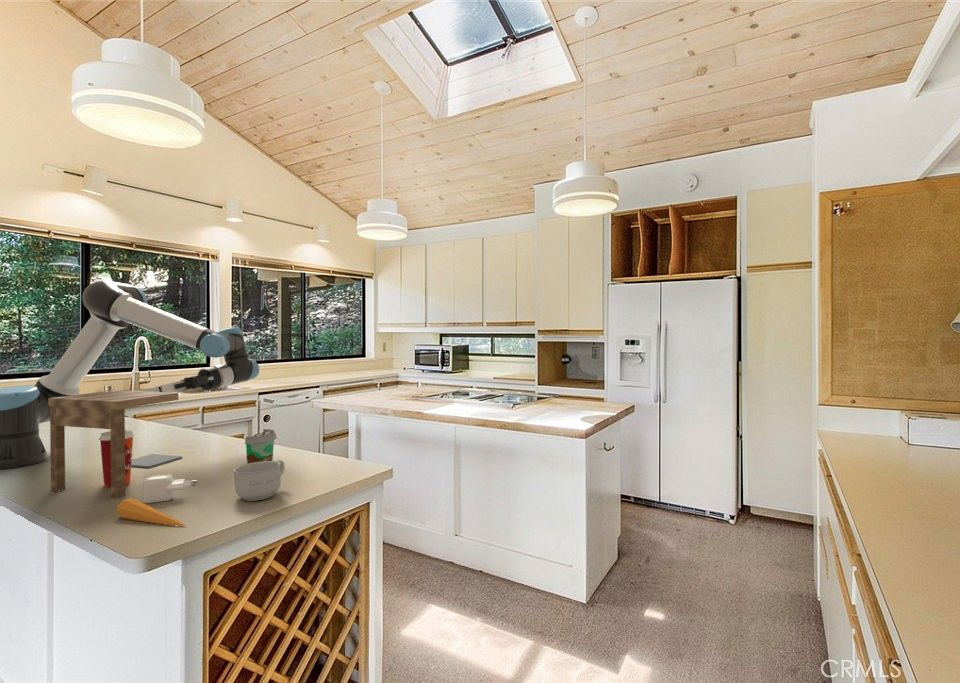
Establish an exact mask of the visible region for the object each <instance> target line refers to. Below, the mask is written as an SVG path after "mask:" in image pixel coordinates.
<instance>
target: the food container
mask: <svg viewBox="0 0 960 683" xmlns="http://www.w3.org/2000/svg"><path fill="white" fill-rule="evenodd" d="M276 439H277V433H276V432H275V430H273V429H269V428H268V429H267V428H263V430H262V432H260V433H257V434H254V435H253V436H245V439H244V445H245V448H246V451H245V452H246V464H249V463H254V462H261V461H274V460H273V459H274V458H273V456H274V446H275V440H276Z"/></svg>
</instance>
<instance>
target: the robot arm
mask: <svg viewBox="0 0 960 683" xmlns="http://www.w3.org/2000/svg"><path fill="white" fill-rule="evenodd" d="M82 302H83V305H84V307H85V308H86V309H87V310H88V312H89V314H90V317H89V319H88V321H87V322H86V323H85V324H84V326H83V328H81V330H80V331H79V333H78V334H77V336H76V337H75V338H74V340H73V341H72V343H71V344H70V345H69V346H68V348H67V349H66V351H65V352H64V353H63V355H62V356H61V358H59V360H58V362H56V364H55V366H54V367H53V369H52V370H51V372H50V373H49V374H47V375H43V376H41V377H39V378H38V380H37V382H36V383H35V384H34V385H16V386H11V387H2V388H0V470H4V469H12V468H13V469H14V468H21V467H26V466H31V465H35V464H39V463H41V462H44V461H46V460H47V456H48V455H47V454H48V452H47V450H46V448H45V446H44V444H43V441H42V439H41V437H40V424H43V423H48V422H50V406H49V404H48V398H54V397H63V396H71V395H80V393H81V391H80V387H79V385H80V384H81V383H82V381H83V380H84V379H85V377H86V376H87V374H88V373H89V372H90V370H92V369H91V368H92V367H93V366H94V364H95V363H96V362H97V361H98V359H99V357H100V356H101V355H102V353H103V352H104V350H105V349H106V348H107V346H108V345H109V344H110V342H111V341H112V339H113V338H114V336H115V335H116V334H117V332H118V331H119V330H122V329H126V328H127V327H129V325H130V324H131V325H133V326H136V327H139V328H141V329H144V330H146V331H149V332H151V333H153V334H156V335H158V336H162V337H164V338H167V339H170V340H172V341H175V342H177V343H179V344H183V345H185V346H188V347H191V348H192V349H194V350H198V351H200V352H202V354H204V355H205V356H206V357H208V358H215V359H217V358H222V357H223V359H224V362H225V363H223V364H218V365H215V366H214V365H213V366H210V367H205V368H204V367H203V368H201V369H200V370H199V371H198V373H197V375H193V376H188V377H184V379H181V380H179V381H175V382H174V381H173V382H171V383H170V382H169V383H166V384H162V385H160V386H159V385H158V386H155V387H151V388H150V387H149V388H146V389H142V390H140V391H149V392H173V393H176V392H178V391H186V390H191V389H192V390H194V389H197V388H201V389H202V390H204V391H206V392H208V391H212V390H216V389H218V388H224V389H227V388H228V386H232V385H235V384H239V383H244V382H247V381H251V380H254V379H256V378H257V377H258V376H259V374H260V366H259V364H258V363H257V361H256V359H253V358H250V357H249V355H248V351H247V347H246V342H245V339H244V334H243V332H242V330H241V328H240V327H239V326H235V327H229V328H223V329H221V330H219V331H218V332H217V331H214V330H212V329H209V328H208V327H204V326H202V325H200V324H196V323H195V322H192V321H189V320H187V319H185V318H182V317H179V316H178V315H175V314H172V313H170V312H167V311H164V310H162V309H161V308H158V307H154V306H152V305H149V304H148V298H147V295H146V294H145V293H144V291H143V290H142V289H141V288H139V287H137V286H136V285H132V284H130V283H127V282H126V283H125V282H124V283H122V282H117V281H116V282H115V281H111V280H98V281H95V282H92V283H90V284H88V285H87V287H86V288H85V289H84V290H83V293H82Z"/></svg>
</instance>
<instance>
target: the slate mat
mask: <svg viewBox="0 0 960 683" xmlns="http://www.w3.org/2000/svg"><path fill="white" fill-rule="evenodd" d="M181 459H183V456H181V455H169V454H156V453H151V454H148V455H144V456H140V457H136V458H132V462H131V468H132V467H133V468H140V467H141V468H143V469H151V468H154V467H158V466H160V465H161V466H162V465H164V464H168V463H171V462H174V461H177V460H181Z"/></svg>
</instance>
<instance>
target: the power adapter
mask: <svg viewBox="0 0 960 683" xmlns="http://www.w3.org/2000/svg"><path fill="white" fill-rule="evenodd" d="M198 483H199V480H198V479H195V480H194V479H193V480H186V478H179V479H174V476H173V474H170V473H169V474H160V475H151V476H147V477H146V478H145V479H144V481H143V484H142V497H143V500H142V501H143V503H144V504H153V503H154V504H155V502H156V503H161V502H162V503H164V502H168V501H170V500H172V499H173V496H174V491H175V492H176V491H182V490H184V488H186V487H196V486H197V485H198ZM163 501H164V502H163Z"/></svg>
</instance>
